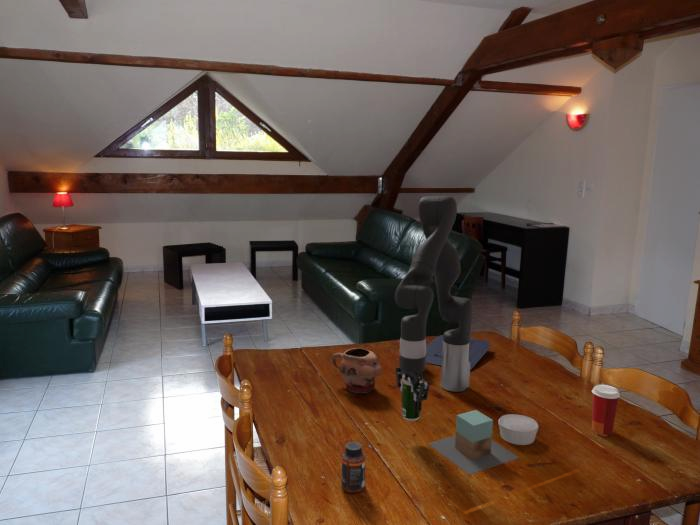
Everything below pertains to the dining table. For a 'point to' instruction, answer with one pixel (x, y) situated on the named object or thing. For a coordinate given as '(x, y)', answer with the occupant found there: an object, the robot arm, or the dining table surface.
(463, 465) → the mat
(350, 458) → the supplement bottle
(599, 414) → the paper cup
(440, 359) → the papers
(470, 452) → the tower base
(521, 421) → the ramekin
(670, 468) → the dining table surface
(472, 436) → the tower top
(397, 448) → the dining table surface
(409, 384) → the beer can
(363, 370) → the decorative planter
